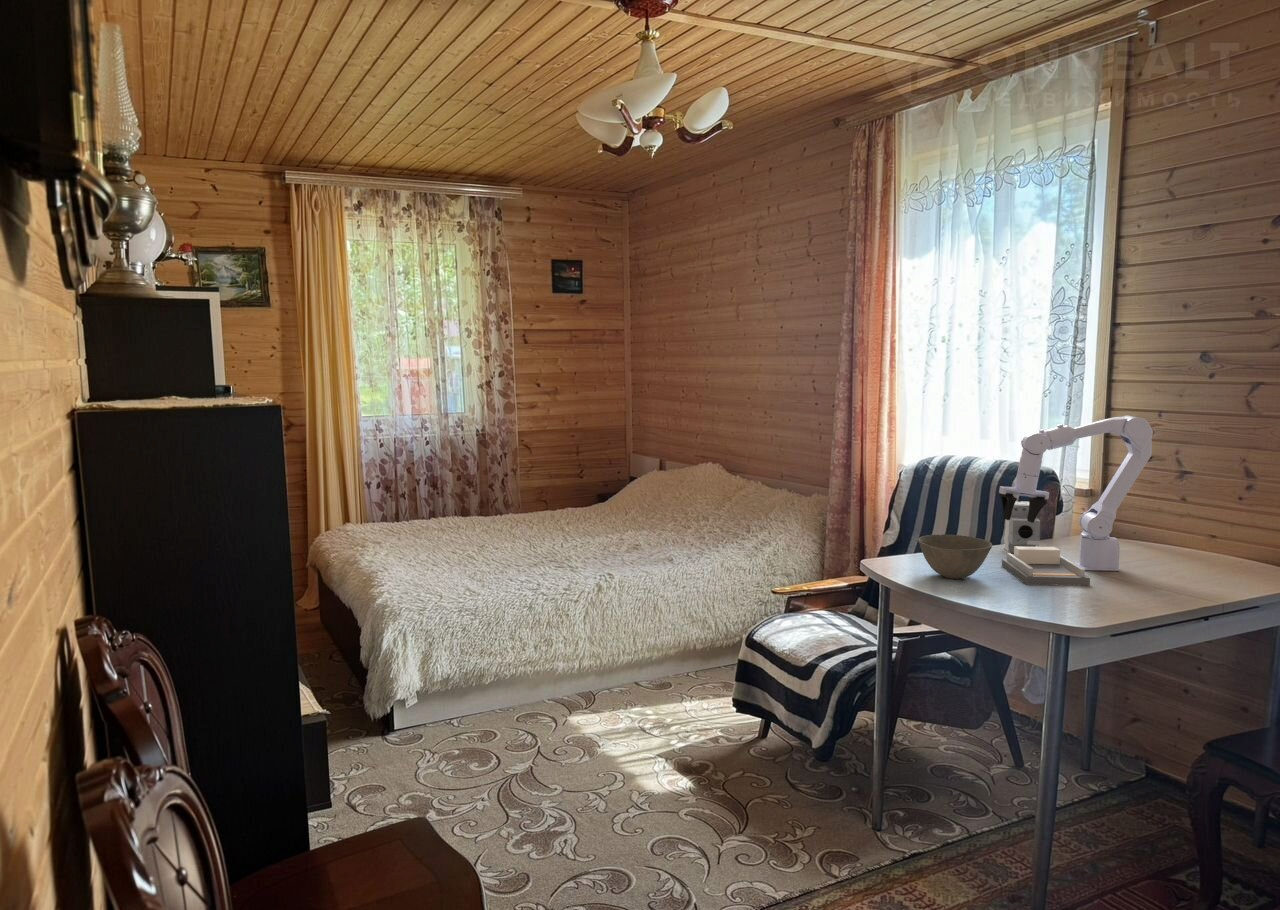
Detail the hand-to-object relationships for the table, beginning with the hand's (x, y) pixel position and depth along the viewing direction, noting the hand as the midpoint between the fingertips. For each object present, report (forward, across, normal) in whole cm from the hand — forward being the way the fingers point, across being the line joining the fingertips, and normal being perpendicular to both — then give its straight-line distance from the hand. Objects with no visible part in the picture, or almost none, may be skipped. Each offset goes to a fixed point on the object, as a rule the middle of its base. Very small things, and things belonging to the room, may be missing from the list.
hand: (1018, 520), depth 241 cm
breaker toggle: (+10, -2, +8) cm, 13 cm away
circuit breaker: (+12, -11, -11) cm, 20 cm away
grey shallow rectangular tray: (+12, -1, +14) cm, 18 cm away
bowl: (+16, +24, +11) cm, 31 cm away
